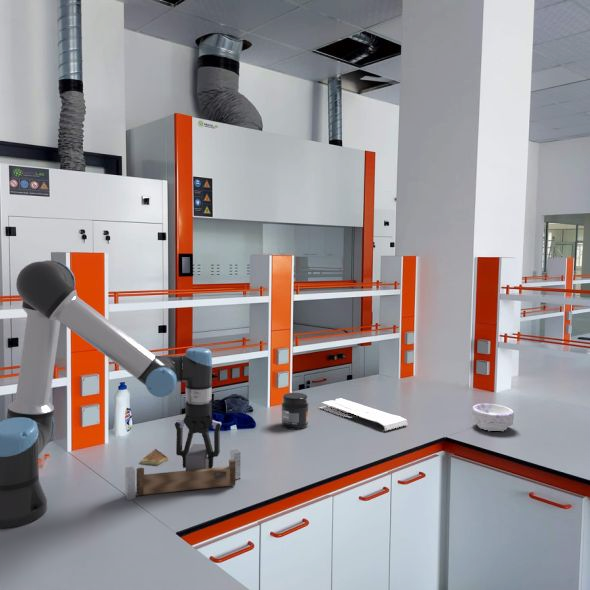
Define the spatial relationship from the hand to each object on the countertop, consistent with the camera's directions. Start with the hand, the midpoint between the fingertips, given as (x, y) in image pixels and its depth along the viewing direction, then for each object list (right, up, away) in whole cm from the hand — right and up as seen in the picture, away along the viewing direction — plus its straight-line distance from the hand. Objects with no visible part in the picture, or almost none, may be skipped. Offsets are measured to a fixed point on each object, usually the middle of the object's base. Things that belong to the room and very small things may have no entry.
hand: (197, 478), depth 163 cm
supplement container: (+29, +3, +52) cm, 60 cm away
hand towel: (+56, +3, +65) cm, 86 cm away
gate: (-2, -1, -7) cm, 8 cm away
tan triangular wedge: (-18, 0, +16) cm, 24 cm away
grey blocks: (-3, -1, -5) cm, 6 cm away
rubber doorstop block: (0, 0, 0) cm, 0 cm away
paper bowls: (+106, +2, +52) cm, 118 cm away
